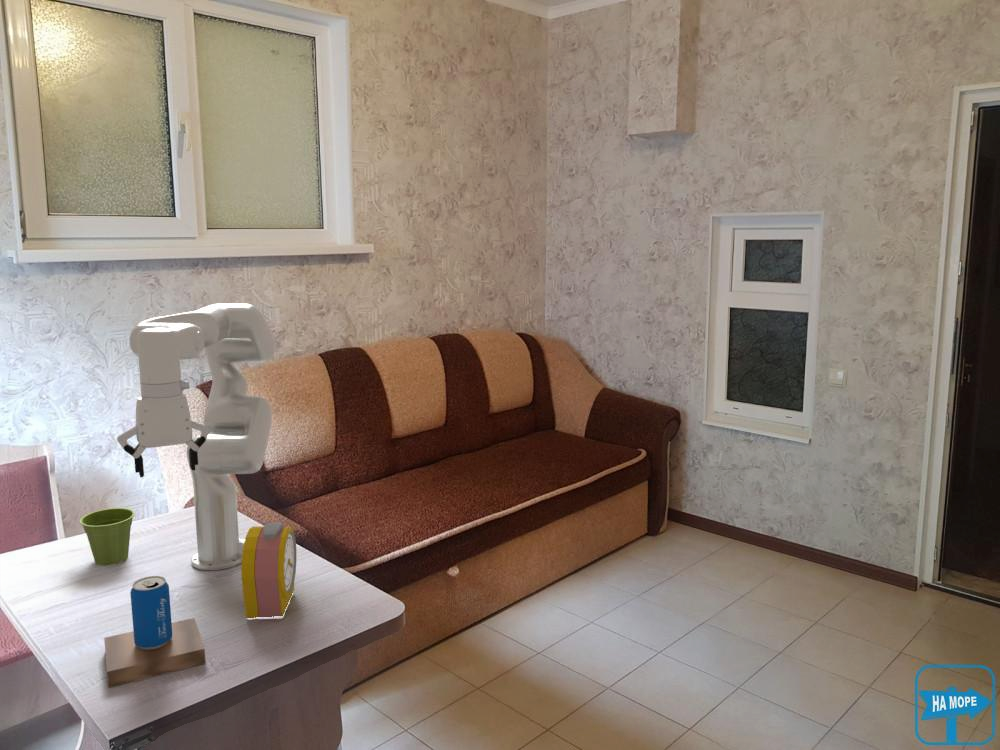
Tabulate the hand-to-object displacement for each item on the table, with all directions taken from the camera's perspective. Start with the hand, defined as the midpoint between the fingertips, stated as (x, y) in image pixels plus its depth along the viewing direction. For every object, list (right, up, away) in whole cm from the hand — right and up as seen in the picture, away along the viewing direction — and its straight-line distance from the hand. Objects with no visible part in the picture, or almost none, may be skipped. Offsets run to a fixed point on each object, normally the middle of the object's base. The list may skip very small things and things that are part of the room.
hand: (167, 472), depth 155 cm
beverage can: (+3, -30, -13) cm, 33 cm away
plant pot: (-26, -25, +29) cm, 47 cm away
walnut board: (+3, -33, -13) cm, 36 cm away
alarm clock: (+19, -30, +7) cm, 36 cm away
